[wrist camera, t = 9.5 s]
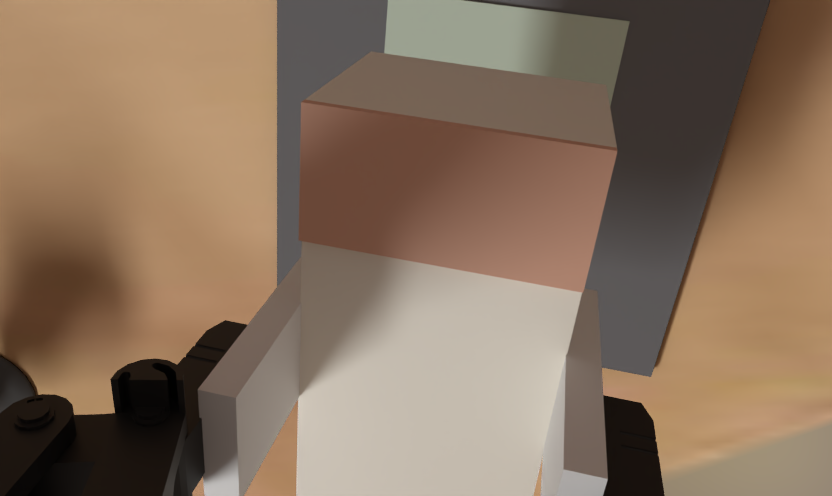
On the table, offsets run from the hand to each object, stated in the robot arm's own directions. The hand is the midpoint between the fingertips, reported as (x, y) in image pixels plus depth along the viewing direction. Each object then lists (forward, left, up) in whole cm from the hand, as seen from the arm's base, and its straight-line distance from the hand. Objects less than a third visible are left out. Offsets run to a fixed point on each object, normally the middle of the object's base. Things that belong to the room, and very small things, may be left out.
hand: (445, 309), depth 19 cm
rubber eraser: (0, 0, -2) cm, 2 cm away
